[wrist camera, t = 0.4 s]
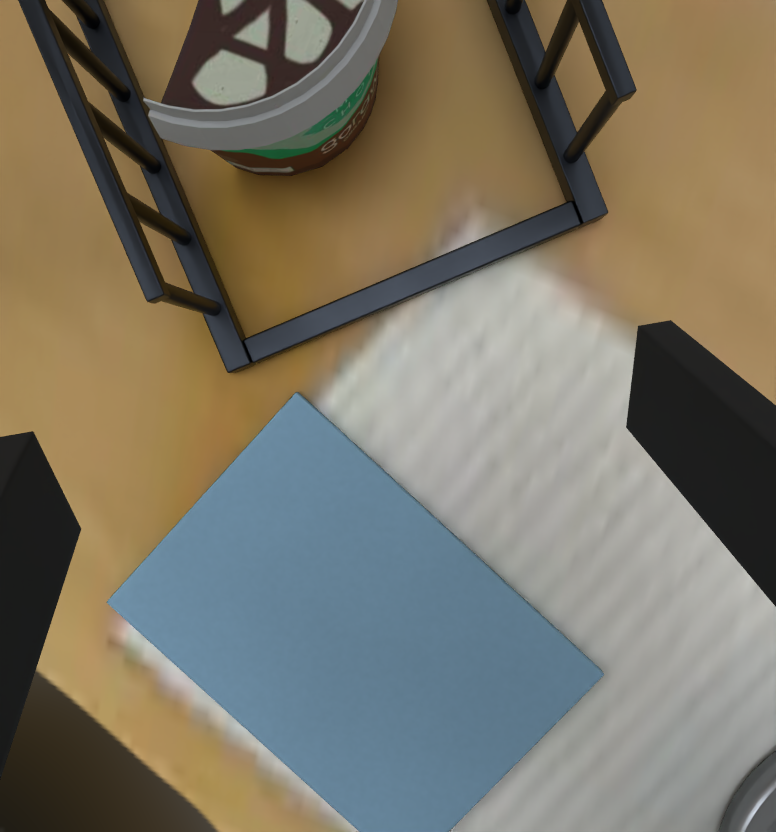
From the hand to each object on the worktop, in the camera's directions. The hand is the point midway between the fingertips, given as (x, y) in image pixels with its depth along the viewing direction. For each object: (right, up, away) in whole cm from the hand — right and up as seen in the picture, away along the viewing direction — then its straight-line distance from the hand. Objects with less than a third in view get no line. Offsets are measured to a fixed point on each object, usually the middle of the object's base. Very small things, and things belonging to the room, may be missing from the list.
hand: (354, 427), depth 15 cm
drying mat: (-1, -10, +18) cm, 21 cm away
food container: (-2, +15, +17) cm, 22 cm away
